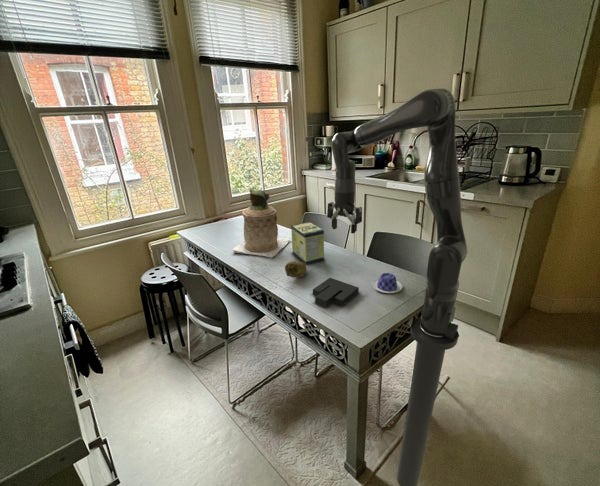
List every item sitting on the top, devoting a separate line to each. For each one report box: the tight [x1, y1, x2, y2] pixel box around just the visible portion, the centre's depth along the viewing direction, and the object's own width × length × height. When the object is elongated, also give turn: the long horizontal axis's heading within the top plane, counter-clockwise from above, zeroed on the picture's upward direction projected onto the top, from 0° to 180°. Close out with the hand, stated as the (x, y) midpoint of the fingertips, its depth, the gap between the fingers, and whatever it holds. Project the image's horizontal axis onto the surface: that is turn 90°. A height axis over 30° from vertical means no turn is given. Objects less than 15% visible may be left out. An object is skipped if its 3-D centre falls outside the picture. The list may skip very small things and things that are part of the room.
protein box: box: [290, 221, 325, 265], centre depth 156 cm, size 10×16×16 cm
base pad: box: [312, 277, 360, 307], centre depth 127 cm, size 14×12×2 cm
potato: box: [284, 260, 308, 278], centre depth 140 cm, size 8×13×8 cm, turn 131°
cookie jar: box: [231, 189, 290, 259], centre depth 166 cm, size 25×25×32 cm
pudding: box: [371, 272, 403, 294], centre depth 129 cm, size 12×12×5 cm
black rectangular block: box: [314, 286, 340, 309], centre depth 122 cm, size 5×10×3 cm, turn 141°
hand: (343, 230), depth 124 cm, fingers open, 8 cm apart
